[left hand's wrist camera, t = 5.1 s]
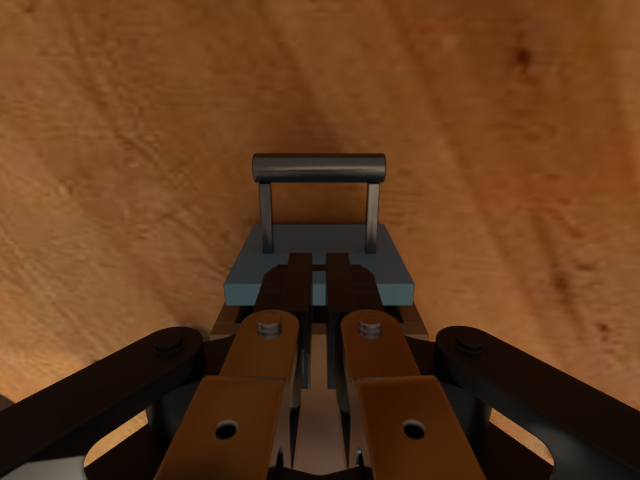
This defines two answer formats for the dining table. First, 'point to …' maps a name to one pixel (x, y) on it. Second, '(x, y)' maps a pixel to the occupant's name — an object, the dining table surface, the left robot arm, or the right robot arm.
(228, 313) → the brown sleeve box
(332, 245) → the drawer
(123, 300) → the dining table surface
